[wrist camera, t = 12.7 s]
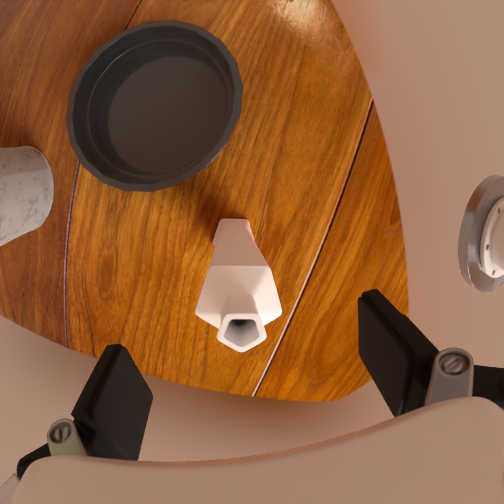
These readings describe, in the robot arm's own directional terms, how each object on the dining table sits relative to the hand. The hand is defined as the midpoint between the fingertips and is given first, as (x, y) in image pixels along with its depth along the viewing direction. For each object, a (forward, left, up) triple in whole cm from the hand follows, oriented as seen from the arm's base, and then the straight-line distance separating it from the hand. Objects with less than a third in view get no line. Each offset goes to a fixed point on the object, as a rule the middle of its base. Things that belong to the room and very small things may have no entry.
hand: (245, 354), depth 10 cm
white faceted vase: (0, 0, -17) cm, 17 cm away
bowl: (+4, -13, -17) cm, 22 cm away
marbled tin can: (+21, -11, -17) cm, 29 cm away
